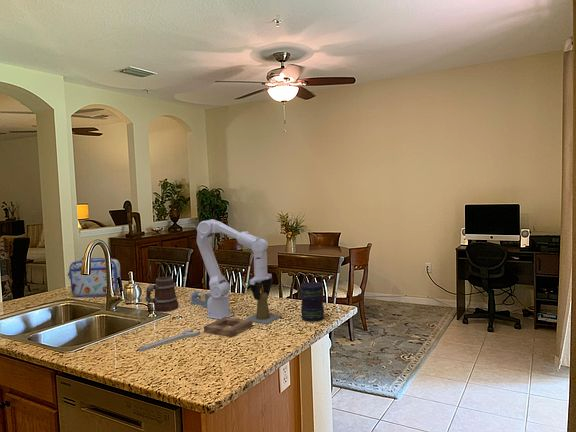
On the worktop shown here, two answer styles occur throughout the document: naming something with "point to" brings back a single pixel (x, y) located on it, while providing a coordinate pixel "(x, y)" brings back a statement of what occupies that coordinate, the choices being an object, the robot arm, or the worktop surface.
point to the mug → (163, 294)
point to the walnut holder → (220, 328)
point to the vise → (199, 298)
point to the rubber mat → (266, 321)
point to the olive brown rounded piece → (262, 307)
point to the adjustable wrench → (170, 339)
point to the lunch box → (92, 278)
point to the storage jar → (312, 302)
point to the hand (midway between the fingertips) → (261, 297)
